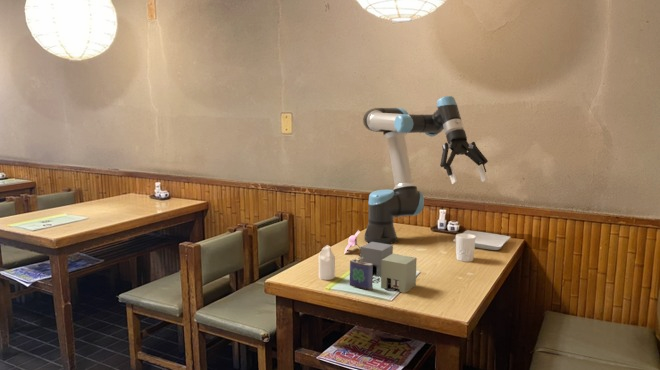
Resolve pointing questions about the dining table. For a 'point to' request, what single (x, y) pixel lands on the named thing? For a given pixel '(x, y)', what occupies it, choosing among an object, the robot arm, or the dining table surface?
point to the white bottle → (326, 264)
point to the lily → (352, 241)
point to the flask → (361, 274)
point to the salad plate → (487, 240)
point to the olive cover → (399, 271)
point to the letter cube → (395, 283)
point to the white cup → (465, 247)
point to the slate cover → (375, 254)
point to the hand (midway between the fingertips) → (469, 182)
